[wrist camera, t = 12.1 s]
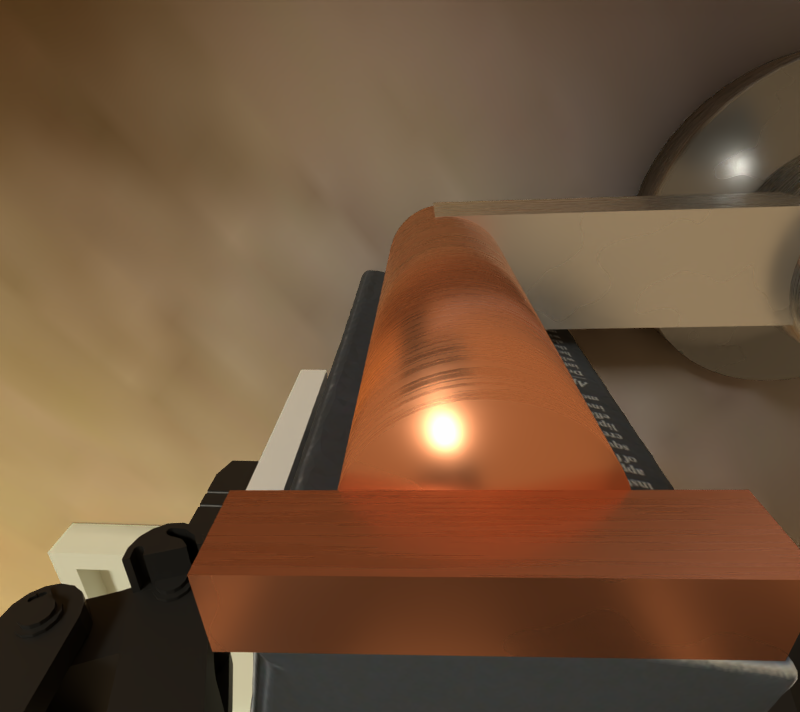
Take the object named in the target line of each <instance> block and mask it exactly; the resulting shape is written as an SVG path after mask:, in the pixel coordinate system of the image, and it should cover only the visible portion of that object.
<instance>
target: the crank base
mask: <svg viewBox="0 0 800 712" xmlns="http://www.w3.org/2000/svg"><path fill="white" fill-rule="evenodd" d="M799 155H800V52H796V53H793V54H790V55H787V56H785V57H782V58H779V59H776V60H773V61H771V62H769V63H766V64H764V65H762V66H760V67H758V68H756V69H754V70H752V71H750V72H748V73H746V74H745V75H743V76H741V77H740V78H738V79H737V80H735V81H733V82H732V83H730V84H728V85H727V86H725V87H724V88H723V89H721V90H720V91H719V92H717V93H716V94H715V95H714V96H712V97H711V98H710V99H708V100H707V101H706V102H705V103H703V104H702V105H701V106H700V107H699V108H698V109H697V110H696V111H695V112H694V113H693V114H692V115H691V116H690V117H689V118H688V119H687V120H686V121H685V122H684V123H683V124H682V125H681V126H680V128H679V129H678V130H677V131H676V132H675V133H674V135H673V136H672V137H671V138H670V139H669V140H668V142H667V143H666V145H665V146H664V148H663V149H662V150H661V152H660V153H659V155H658V156H657V158H656V159H655V161H654V162H653V164H652V166H651V168H650V170H649V172H648V173H647V175H646V177H645V179H644V181H643V183H642V185H641V188H640V190H639V193H638V195H637V196H663V195H696V194H729V193H755V192H756V190H757V189H758V188H759V187H760V186H761V185H762V184H763V183H764V182H765V181H766V180H767V179H768V178H769V177H770V176H771V175H772V174H773V173H775V172H776V171H777V170H778V169H779V168H781V167H782V166H783V165H785V164H786V163H788V162H789V161H790V160H792V159H794V158H795V157H797V156H799ZM655 329H656V330H657V331H658V332H659V333H660V334H661V335H662V336H663V337H664V338H665V339H666V340H667V341H668V342H670V343H671V344H672V345H673V346H674V347H675V348H676V349H677V350H678V351H679V352H680V353H682V354H683V355H684V356H686V357H687V358H688V359H690V360H691V361H693V362H694V363H696V364H698V365H700V366H702V367H704V368H706V369H708V370H711V371H713V372H716V373H719V374H722V375H725V376H730V377H735V378H740V379H748V380H761V381H763V380H784V379H791V378H799V377H800V343H799V342H797V341H796V340H794V339H793V338H791V337H789V336H788V335H786V334H784V333H783V332H781V331H780V330H778V329H776V328H775V327H773V326H720V327H662V328H655Z"/></svg>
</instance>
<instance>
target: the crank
mask: <svg viewBox="0 0 800 712" xmlns="http://www.w3.org/2000/svg"><path fill="white" fill-rule="evenodd" d="M720 326H773V327H775V328H776V329H778V330H780V331H781V332H783V333H784V334H786V335H788V336H789V337H791V338H793V339H794V340H796V341H797V342H799V343H800V155H799V156H797V157H795V158H794V159H792V160H790V161H789V162H788V163H786V164H785V165H783V166H782V167H781V168H779V169H778V170H777V171H776V172H775V173H773V174H772V175H771V176H770V177H769V178H768V179H767V180H766V181H765V182H764V183H763V184H762V185H761V186H760V187H759V188H758V189H757V190H756V192H755V193H729V194H696V195H663V196H630V197H598V198H565V199H532V200H500V201H467V202H434V203H433V206H431V207H427V208H425V209H422V210H420V211H418V212H416V213H415V214H413V215H412V216H410V217H409V218H408V219H407V220H406V221H405V222H404V223H403V224H402V225H401V227H400V228H399V230H398V231H397V233H396V235H395V237H394V239H393V242H392V245H391V249H390V254H389V258H388V263H387V267H386V272H385V276H384V281H383V285H382V290H381V295H380V299H379V304H378V308H377V313H376V317H375V322H374V326H373V331H372V335H371V340H370V344H369V349H368V353H367V358H366V362H365V367H364V372H363V376H362V381H361V385H360V390H359V394H358V399H357V403H356V408H355V412H354V417H353V421H352V426H351V430H350V435H349V440H348V444H347V449H346V453H345V458H344V462H343V467H342V471H341V476H340V480H339V485H338V489H337V490H230V491H229V493H228V495H227V497H226V499H225V501H224V503H223V505H222V507H221V509H220V511H219V513H218V515H217V517H216V519H215V521H214V523H213V525H212V527H211V529H210V531H209V533H208V535H207V537H206V539H205V541H204V543H203V545H202V547H201V549H200V551H199V552H198V554H197V556H196V558H195V560H194V562H193V564H192V566H191V568H190V570H189V572H188V574H187V576H188V579H189V582H190V585H191V588H192V591H193V594H194V597H195V600H196V603H197V606H198V609H199V612H200V616H201V619H202V622H203V625H204V628H205V631H206V634H207V637H208V640H209V643H210V646H211V649H212V652H255V653H317V654H380V655H442V656H504V657H566V658H628V659H691V660H753V661H786V659H787V657H788V655H789V653H790V651H791V649H792V647H793V645H794V643H795V641H796V639H797V637H798V635H799V633H800V549H799V548H798V547H797V546H796V544H795V543H794V542H793V541H792V540H791V539H790V537H789V536H788V535H787V534H786V533H785V532H784V530H783V529H782V528H781V527H780V526H779V525H778V523H777V522H776V521H775V520H774V519H773V518H772V516H771V515H770V514H769V513H768V512H767V511H766V509H765V508H764V507H763V506H762V505H761V504H760V502H759V501H758V500H757V499H756V498H755V497H754V495H753V494H752V493H751V492H750V491H749V490H631V488H630V484H629V481H628V479H627V477H626V474H625V472H624V470H623V468H622V466H621V464H620V462H619V461H618V459H617V457H616V455H615V454H614V452H613V450H612V448H611V446H610V445H609V443H608V441H607V439H606V437H605V436H604V434H603V432H602V430H601V428H600V427H599V425H598V423H597V421H596V420H595V418H594V416H593V414H592V412H591V411H590V409H589V407H588V405H587V403H586V402H585V400H584V398H583V396H582V394H581V393H580V391H579V389H578V387H577V386H576V384H575V382H574V380H573V378H572V377H571V375H570V373H569V371H568V369H567V368H566V366H565V364H564V362H563V360H562V359H561V357H560V355H559V353H558V352H557V350H556V348H555V346H554V344H553V343H552V341H551V339H550V337H549V335H548V334H547V332H546V330H547V329H605V328H662V327H720Z"/></svg>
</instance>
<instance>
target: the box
mask: <svg viewBox="0 0 800 712" xmlns="http://www.w3.org/2000/svg"><path fill="white" fill-rule="evenodd" d="M384 276H385V273H384V272H380V271H371V270H369V271H366V272H365V273H364V274H363V276H362V278H361V281H360V284H359V288H358V291H357V293H356V297H355V300H354V303H353V307H352V309H351V312H350V316H349V319H348V321H347V324H346V327H345V331H344V334H343V337H342V340H341V343H340V346H339V348H338V351H337V354H336V357H335V359H334V362H333V365H332V368H331V371H330V374H329V377H328V380H327V383H326V386H325V390H324V393H323V395H322V397H321V400H320V403H319V406H318V409H317V411H316V414H315V418H314V421H313V424H312V427H311V429H310V432H309V435H308V439H307V441H306V444H305V446H304V449H303V453H302V456H301V460H300V462H299V465H298V468H297V471H296V474H295V477H294V479H293V482H292V485H291V488H290V490H337V489H338V485H339V480H340V476H341V471H342V467H343V462H344V458H345V453H346V449H347V444H348V440H349V435H350V430H351V426H352V421H353V417H354V412H355V408H356V403H357V399H358V394H359V390H360V385H361V381H362V376H363V372H364V367H365V362H366V358H367V353H368V349H369V344H370V340H371V335H372V331H373V326H374V322H375V317H376V313H377V308H378V304H379V299H380V295H381V290H382V285H383V281H384ZM546 332H547V334H548V335H549V337H550V339H551V341H552V343H553V344H554V346H555V348H556V350H557V352H558V353H559V355H560V357H561V359H562V360H563V362H564V364H565V366H566V368H567V369H568V371H569V373H570V375H571V377H572V378H573V380H574V382H575V384H576V386H577V387H578V389H579V391H580V393H581V394H582V396H583V398H584V400H585V402H586V403H587V405H588V407H589V409H590V411H591V412H592V414H593V416H594V418H595V420H596V421H597V423H598V425H599V427H600V428H601V430H602V432H603V434H604V436H605V437H606V439H607V441H608V443H609V445H610V446H611V448H612V450H613V452H614V454H615V455H616V457H617V459H618V461H619V462H620V464H621V466H622V468H623V470H624V472H625V474H626V477H627V479H628V481H629V484H630V488H631V490H674V488H673V487H672V485H671V484H670V483H669V481H668V480H667V478H666V477H665V475H664V474H663V472H662V471H661V469H660V468H659V466H658V465H657V463H656V462H655V460H654V458H653V456H652V455H651V453H650V452H649V451H648V449H647V448H646V446H645V445H644V443H643V442H642V441H641V439H640V438H639V437H638V435H637V433H636V432H635V430H634V429H633V427H632V426H631V425H630V423H629V421H628V420H627V418H626V416H625V415H624V413H623V412H622V411H621V409H620V408H619V406H618V405H617V404H616V402H615V401H614V399H613V398H612V396H611V395H610V393H609V391H608V390H607V388H606V387H605V385H604V384H603V382H602V381H601V379H600V378H599V376H598V375H597V373H596V372H595V371H594V370H593V368H592V366H591V364H590V363H589V361H588V359H587V358H586V357H585V356H584V354H583V352H582V351H581V349H580V348H579V346H578V345H577V344H576V342H575V340H574V338H573V337H572V335H571V334H570V333H569V331H568V330H567V329H547V330H546ZM797 677H798V672H797V670H796V668H795V666H794V663H793V662H792V660H791V659H790V658H789V656H788V657H787V659H786V661H753V660H691V659H628V658H566V657H504V656H442V655H380V654H317V653H255V652H253V678H252V699H251V707H250V712H768V711H769V710H770V709H771V707H772V706H773V705H774V704H775V703H776V702H777V701H778V699H779V698H780V697H781V696H782V695H783V694H784V693H785V692H786V691H787V690H788V689H790V688H791V687H792V686H793V684H794V683H795V682H796V680H797Z"/></svg>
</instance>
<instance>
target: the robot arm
mask: <svg viewBox="0 0 800 712" xmlns="http://www.w3.org/2000/svg"><path fill="white" fill-rule="evenodd" d="M326 383H327V370H301V371H300V373H299V375H298V377H297V379H296V382H295V384H294V386H293V388H292V390H291V393H290V395H289V397H288V399H287V401H286V403H285V406H284V408H283V410H282V412H281V414H280V417H279V419H278V421H277V423H276V425H275V427H274V430H273V432H272V434H271V436H270V438H269V441H268V443H267V445H266V447H265V449H264V451H263V454H262V456H261V458H260V460H259V461H232V462H231V463H229V464H228V465H227V466H226V467H225V468H223V469H222V470H221V471H220V472H219V473H218V474H216V476H215V478H214V480H213V482H212V483H211V485H210V487H209V489H208V493H207V494H205V496H204V498H203V500H202V501H201V503H200V507H198V509H197V510H196V512H195V514H194V516H193V518H192V519H191V521H190V523H189V524H185V523H171V524H166V525H163V526H159V527H156V528H153V529H151V530H150V531H148V532H146V533H145V534H143V535H141V536H139V537H138V538H137V539H136V540H135V541H134V542H133V543H132V544H131V545H130V546H129V547H128V548H127V550H126V552H125V554H124V556H123V558H122V562H123V565H124V568H125V571H126V574H127V577H128V580H129V583H130V585H131V588H128V589H125V590H122V591H118V592H114V593H110V594H106V595H102V596H97V597H93V598H89V599H85V597H84V594H83V592H82V591H81V590H79V589H78V588H77V587H76V586H75V585H68V584H56V585H51V586H45V587H43V588H41V589H38V590H36V591H34V592H31V593H29V594H27V595H26V596H24V597H23V598H21V599H20V600H19V601H17V602H16V603H14V604H13V605H12V606H11V607H10V608H9V609H8V610H7V611H6V612H5V613H4V614H3V615H2V616H1V617H0V712H232V710H233V661H232V657H231V652H212V649H211V646H210V643H209V640H208V637H207V634H206V631H205V628H204V625H203V622H202V619H201V616H200V612H199V609H198V606H197V603H196V600H195V597H194V594H193V591H192V588H191V585H190V582H189V579H188V576H187V574H188V572H189V570H190V568H191V566H192V564H193V562H194V560H195V558H196V556H197V554H198V552H199V551H200V549H201V547H202V545H203V543H204V541H205V539H206V537H207V535H208V533H209V531H210V529H211V527H212V525H213V523H214V521H215V519H216V517H217V515H218V513H219V511H220V509H221V507H222V505H223V503H224V501H225V499H226V497H227V495H228V493H229V491H230V490H290V488H291V485H292V482H293V479H294V477H295V474H296V471H297V468H298V465H299V462H300V460H301V456H302V453H303V449H304V446H305V444H306V441H307V439H308V435H309V432H310V429H311V427H312V424H313V421H314V418H315V414H316V411H317V409H318V406H319V403H320V400H321V397H322V395H323V393H324V390H325V386H326ZM788 656H789V658H790V659H791V660H792V662H793V663H794V666H795V668H796V670H797V672H798V677H797V680H796V682H795V683H794V684H793V686H792V687H791V688H790V689H788V690H787V691H786V692H785V693H784V694H783V695H782V696H781V697H780V698H779V699H778V701H777V702H776V703H775V704H774V705H773V706H772V707H771V709H770V710H769V711H768V712H800V633H799V635H798V637H797V639H796V641H795V643H794V645H793V647H792V649H791V651H790V653H789V655H788Z"/></svg>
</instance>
